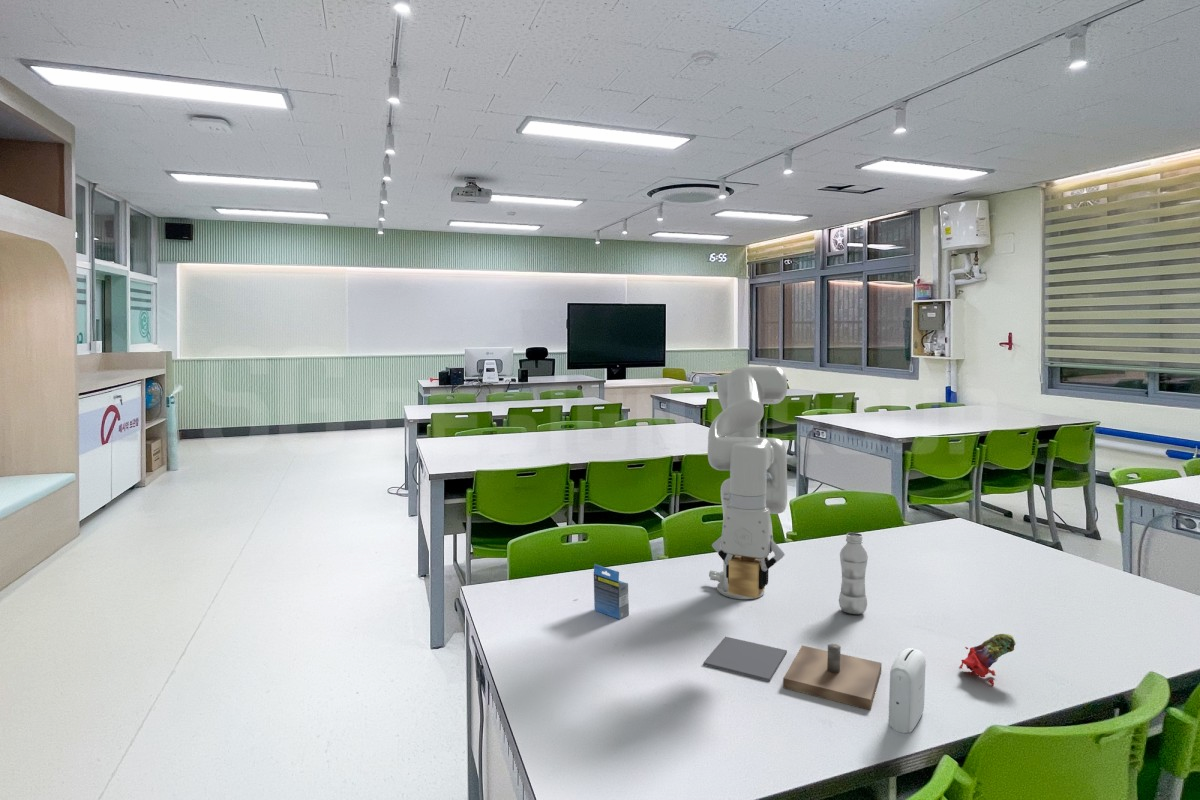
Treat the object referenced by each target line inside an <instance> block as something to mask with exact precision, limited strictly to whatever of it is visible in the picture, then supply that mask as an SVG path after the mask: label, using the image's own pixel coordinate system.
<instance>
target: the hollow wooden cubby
mask: <svg viewBox="0 0 1200 800" xmlns="http://www.w3.org/2000/svg"><path fill="white" fill-rule="evenodd" d="M760 570H761V566H760V563H759V561H758V559H757V558H750V557H743V556H737V555H735V556H734V557H733V558H732V559H730V560H729V593H730V594H736V595H741V596H746V597H752V598H754V599H758V598H759V597H758V596H759V595H760V594H761V593H762V592H763V590H764V591H765V589H766V588H765V587H766V586H765V587H764V588H763V589H762V590H761V589H759V571H760ZM757 597H758V598H757Z"/></svg>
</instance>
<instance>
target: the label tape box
mask: <svg viewBox="0 0 1200 800" xmlns="http://www.w3.org/2000/svg"><path fill="white" fill-rule="evenodd" d="M593 566H594V567H593V594H594V596H593V597H594V598H593V599H594V600H593V601H594V603H593V604H594V611H595V612H597V613H600V612H601V613H600V614H603V613H604V615H606V614H607V615H606V616H609V617H612V618H614V619H618V620H623V619H624V618H627V617H628V616H629V615H630V610H629V609H630V608H629V607H630V605H629V604H630V603H629V602H630V601H629V583H628V582H625V581H621V580H619V579H620V578H619V577H620V572H619V571H618V570H613V569H611V568H608V567H605V566H602V565H599V564H596V563H594V565H593ZM603 572H605V573H607V574H605V573H603ZM608 574H609V575H608Z"/></svg>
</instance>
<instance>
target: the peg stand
mask: <svg viewBox="0 0 1200 800" xmlns="http://www.w3.org/2000/svg"><path fill="white" fill-rule="evenodd" d="M841 651H842V650H841V645H839V644H837V643H829V644H827V650H825V649H820V648H816V647H812V646H811V647H810V646H808V645H807V646H806V645H801V647H800V648H799V650H798V652H797V653H796V655H795V657H794V658H793V660H792V661H791V664H790V666H789V668H788V669H787V671H786V673H785V674H784V676H783V687H782V688H783V689H785V690H786V689H787V690H791V691H794V692H798V693H803V694H805V695H810V696H814V697H817V698H818V697H819V698H820V699H825V700H829V701H834V702H837V703H838V702H839V703H842V704H845V705H849V706H854V707H857V706H858V707H857V708H861V707H862V708H861V709H864V708H865V710H869V711H871V710H872V706H873V703H874V700H875V696H876V693H875V692H877V688H878V685H879V681H880V678H881V676H882V662H879V661H876V660H869V659H866V658H863V657H862V658H861V657H858V656H857V657H856V656H851V655H848V654H843V653H841ZM873 699H874V700H873Z"/></svg>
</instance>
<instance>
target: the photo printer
mask: <svg viewBox="0 0 1200 800" xmlns="http://www.w3.org/2000/svg"><path fill="white" fill-rule="evenodd" d="M926 662H927V661H926V658H925V655H924V653H923V652H922V651H921V650H920V649H916V648H913V647H908V648H905V649H903V650H902V651H901V652H900V653H898V655H897V657H896V658H895V659H894V661H893V662H892V665H891V669H890V671H889V692H888V693H889V696H888V698H889V699H888V719H887V720H888V722H887V723H888V726H890V727H891V729H892V730H893V731H896V732H899V733H902V734H908V733H911V732H912V731H913V730H914V729H915V728H916V725H918V723H919V721H920V719H921V717H922V715H923V713H924V711H925V710H924V709H925V692H926V689H925V688H926V665H927V664H926Z"/></svg>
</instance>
